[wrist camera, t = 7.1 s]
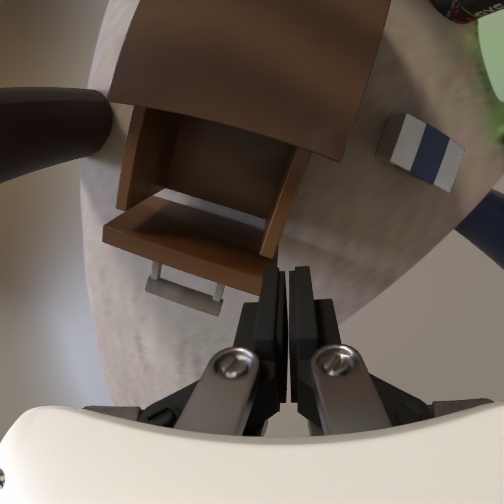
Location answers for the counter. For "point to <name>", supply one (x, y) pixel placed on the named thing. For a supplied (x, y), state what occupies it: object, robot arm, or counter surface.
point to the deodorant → (466, 9)
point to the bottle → (49, 127)
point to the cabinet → (255, 64)
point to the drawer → (208, 188)
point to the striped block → (420, 150)
